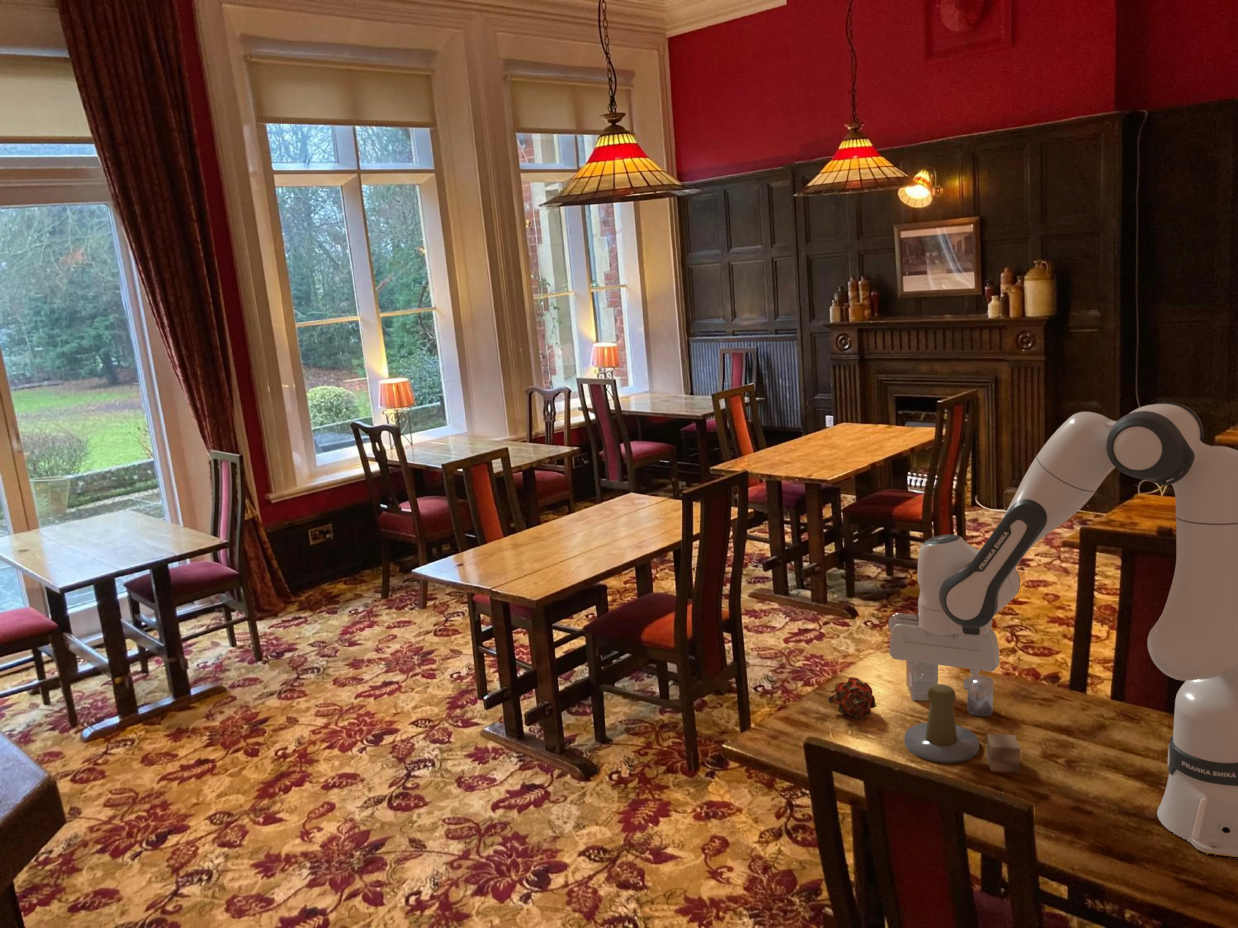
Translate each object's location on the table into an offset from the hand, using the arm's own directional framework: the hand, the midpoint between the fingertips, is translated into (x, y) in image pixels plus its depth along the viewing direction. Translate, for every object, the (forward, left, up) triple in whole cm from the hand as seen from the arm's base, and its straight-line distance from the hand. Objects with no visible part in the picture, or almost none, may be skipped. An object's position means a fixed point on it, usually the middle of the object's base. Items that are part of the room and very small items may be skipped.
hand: (943, 684), depth 189 cm
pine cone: (+20, -6, -13) cm, 25 cm away
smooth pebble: (0, 0, -13) cm, 13 cm away
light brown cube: (-12, +3, -13) cm, 18 cm away
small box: (+9, -21, -13) cm, 27 cm away
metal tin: (-4, -17, -13) cm, 22 cm away
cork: (+1, -1, -12) cm, 12 cm away
